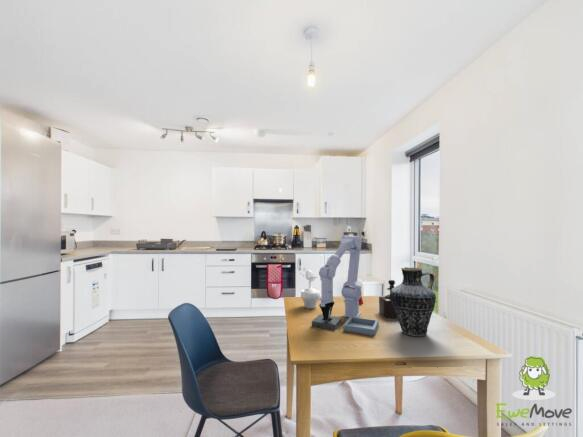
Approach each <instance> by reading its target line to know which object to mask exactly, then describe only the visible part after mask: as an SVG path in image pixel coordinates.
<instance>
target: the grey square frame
mask: <svg viewBox="0 0 583 437" xmlns="http://www.w3.org/2000/svg"><path fill="white" fill-rule="evenodd" d="M342 317H343V316H341V317H340V316H335V315H331V316H330V321H325V320H324V318H323V314H320V313H319V314H318V315H317V316H316V317H315V318H314V319H312V320H311V327H313V328H319V329H325V330H333V331H336V330H337V329H338V327H340V325H341V324H342V322H343V318H342Z"/></svg>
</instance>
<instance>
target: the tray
mask: <svg viewBox="0 0 583 437" xmlns="http://www.w3.org/2000/svg"><path fill="white" fill-rule="evenodd" d="M379 322H380V321H379V319H372V318H367V317H359V316H358V317H352V316H350V317H348V319H347V320H346V322H345V323H344V324H343V332H344V333H345V332H346V333H351V334H352V333H353V334H358V335H365V336H371V337H375V335H376V333H377V332H378V328H379V324H380V323H379Z"/></svg>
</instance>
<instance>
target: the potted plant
mask: <svg viewBox="0 0 583 437" xmlns="http://www.w3.org/2000/svg"><path fill="white" fill-rule="evenodd" d="M302 270H303V271H305V274H303V277H305V279H306V280H307V281H308V288H303V289H301V290H300V298H301V299H302V301H303V304H304V307H305V309H306V308H307V309H314V308H316V307H317V305H318V304H317V303H318V301H319V298H321V293H320V292H321V291H320V290H319V289H316V288H314V287H312V282H314V281H315V280H316V278H318V276H314V272H313V271H312V270H311V269H305V268H303V269H302ZM299 274H300V275H302V272H300V273H299Z"/></svg>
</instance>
